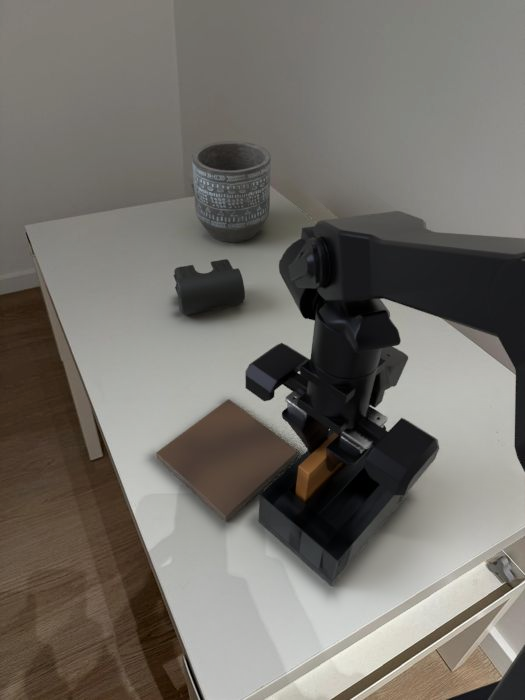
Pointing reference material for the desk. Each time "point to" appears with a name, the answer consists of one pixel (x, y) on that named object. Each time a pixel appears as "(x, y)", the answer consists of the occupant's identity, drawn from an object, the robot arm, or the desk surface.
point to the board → (227, 458)
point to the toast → (315, 473)
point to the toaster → (327, 516)
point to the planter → (231, 189)
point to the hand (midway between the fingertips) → (326, 463)
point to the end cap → (208, 287)
